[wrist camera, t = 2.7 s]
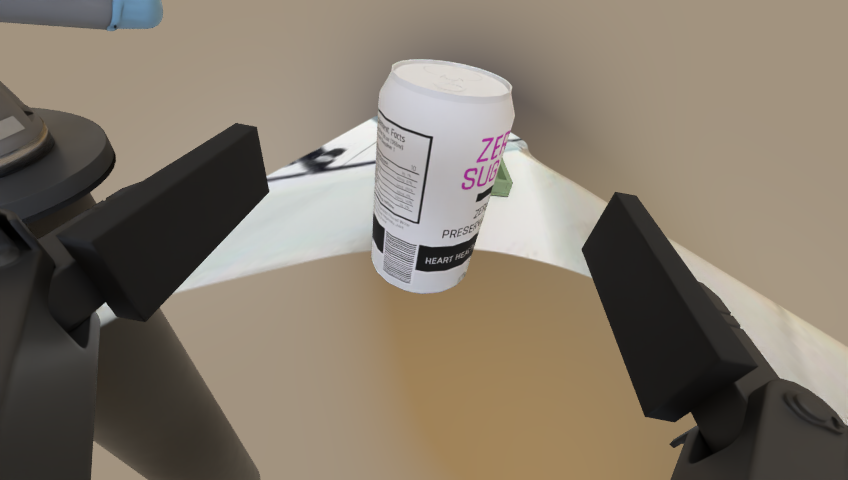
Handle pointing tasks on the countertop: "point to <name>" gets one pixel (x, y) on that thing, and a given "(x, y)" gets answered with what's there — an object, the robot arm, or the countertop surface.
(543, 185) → the countertop surface
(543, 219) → the countertop surface
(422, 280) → the supplement can
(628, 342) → the robot arm
